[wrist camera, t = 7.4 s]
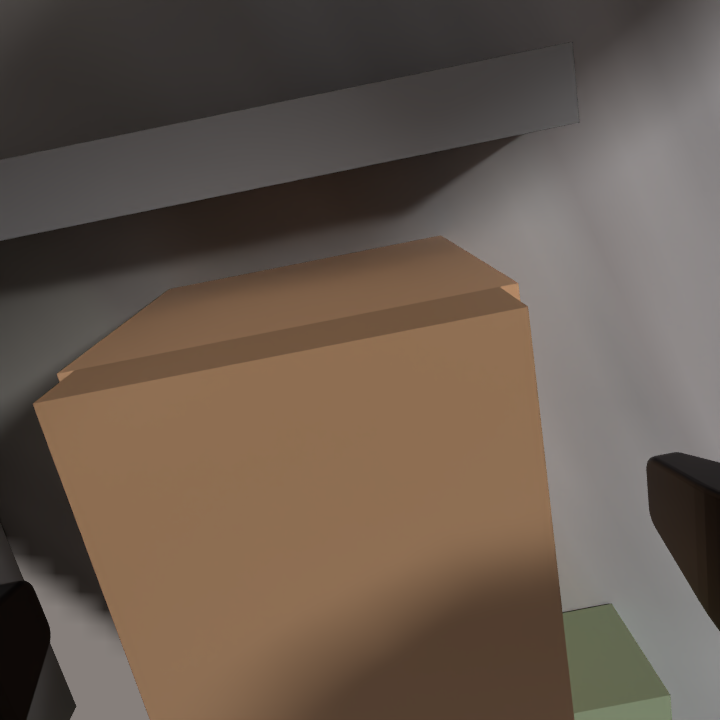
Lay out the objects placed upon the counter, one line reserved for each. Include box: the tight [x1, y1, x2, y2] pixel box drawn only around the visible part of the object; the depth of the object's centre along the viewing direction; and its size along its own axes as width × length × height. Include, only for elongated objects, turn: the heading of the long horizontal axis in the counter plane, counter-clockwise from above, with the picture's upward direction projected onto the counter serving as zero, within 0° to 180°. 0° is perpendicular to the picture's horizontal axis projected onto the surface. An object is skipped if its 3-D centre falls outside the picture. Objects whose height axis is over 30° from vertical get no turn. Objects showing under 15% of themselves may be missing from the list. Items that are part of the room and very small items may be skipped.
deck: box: [0, 42, 672, 720], centre depth 12 cm, size 13×21×3 cm, turn 11°
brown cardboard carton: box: [33, 236, 574, 720], centre depth 10 cm, size 5×8×6 cm, turn 11°
